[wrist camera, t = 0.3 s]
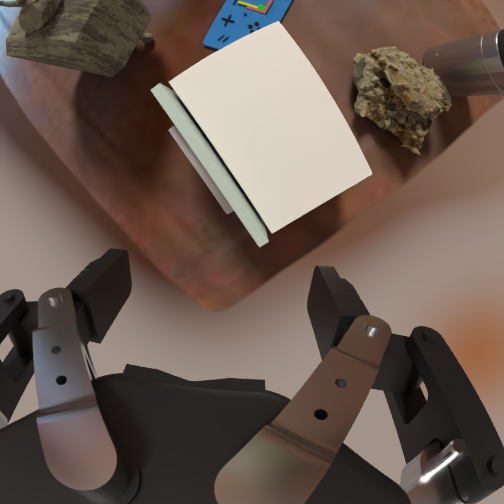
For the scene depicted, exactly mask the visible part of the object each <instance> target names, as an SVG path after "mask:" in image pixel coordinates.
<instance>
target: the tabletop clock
mask: <svg viewBox="0 0 504 504" xmlns="http://www.w3.org/2000/svg"><path fill="white" fill-rule="evenodd" d="M0 6H7V7H22V8H21V10H20V13H19V15H18V17H17V19H16V21H15V23H14V25H13V27H12V29H11V31H10V33H9V35H8V37H7V39H6V50H7V56H11V57H16V58H22V59H26V60H31V61H36V62H40V63H45V64H49V65H54V66H59V67H64V68H69V69H75V70H80V71H85V72H90V73H94V74H99V75H103V76H108V77H113V76H114V75H115V74H117V73H118V72H119V71H120V70H122V69H123V68H124V67H125V65H126V63H127V61H128V59H129V58H130V56H131V54H132V52H133V50H134V48H135V46H136V44H137V42H138V41H139V40H142V41H143V42H144V43H149V42H151V41H152V39H153V35H152V34H150V33H146V34H144V35H143V36H141V35H142V34H143V32H144V30H145V28H146V27H147V25H148V23H149V22H150V20H151V15H150V13H149V11H148V10H147V8H146V7H145V5H144V4H143V3H142V2H141V1H140V0H17V1H12V2H3V1H0Z"/></svg>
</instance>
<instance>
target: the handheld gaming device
mask: <svg viewBox="0 0 504 504" xmlns="http://www.w3.org/2000/svg"><path fill="white" fill-rule="evenodd" d="M291 2H292V0H227V1H226V2H225V4H224V6H223V7H222V9H221V10H220V12H219V14H218V16H217V17H216V19H215V21H214V22H213V24H212V26H211V28H210V30H209V31H208V33H207V35H206V37H205V39H204V41H203V44H204V46H207V47H210V48H214V49H217V50H220V49H222V48H224V47H225V46H227V45H229V44H231V43H233V42H235V41H237V40H239V39H241V38H243V37H244V36H246V35H249V34H251V33H253V32H255V31H257V30H259V29H261V28H263V27H266V26H268V25H270V24H272V23H275V22H277V21H279V22H281V20H282V18H283V16H284V14H285V12H286V11H287V9H288V7H289V5H290V4H291Z"/></svg>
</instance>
